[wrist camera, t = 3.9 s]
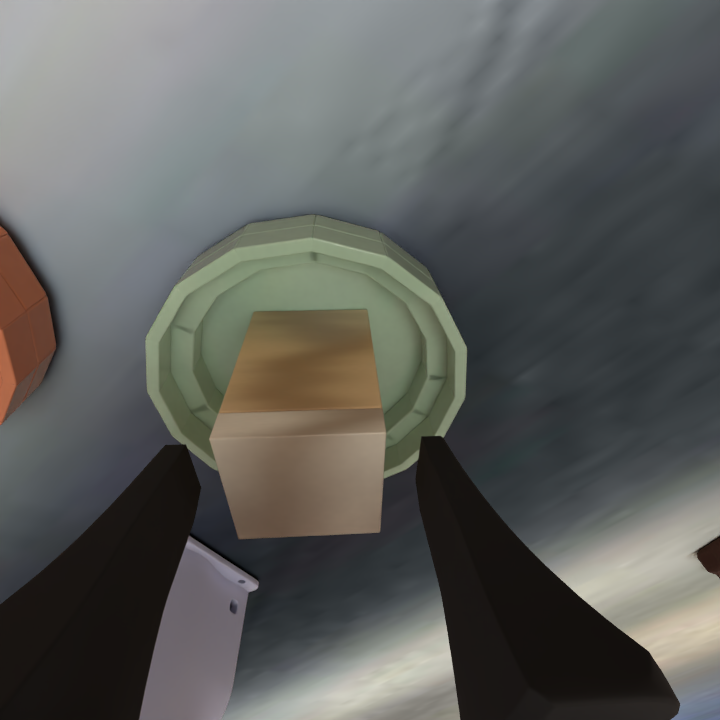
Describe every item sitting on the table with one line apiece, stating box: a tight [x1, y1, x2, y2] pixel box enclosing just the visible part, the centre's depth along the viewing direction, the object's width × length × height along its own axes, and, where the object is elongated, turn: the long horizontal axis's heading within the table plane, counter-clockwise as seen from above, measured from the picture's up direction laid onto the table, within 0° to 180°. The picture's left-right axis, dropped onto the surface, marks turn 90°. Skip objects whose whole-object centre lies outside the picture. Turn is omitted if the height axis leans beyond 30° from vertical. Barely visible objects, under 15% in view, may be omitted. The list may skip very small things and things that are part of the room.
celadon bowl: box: [145, 214, 467, 478], centre depth 16 cm, size 12×12×3 cm
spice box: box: [209, 309, 386, 539], centre depth 15 cm, size 5×5×7 cm
